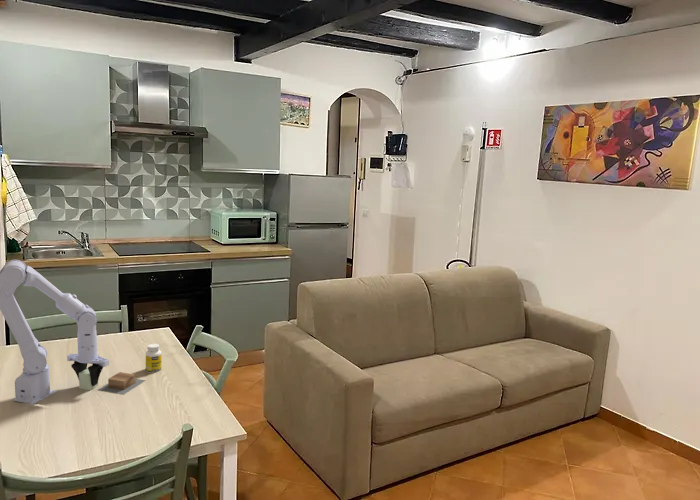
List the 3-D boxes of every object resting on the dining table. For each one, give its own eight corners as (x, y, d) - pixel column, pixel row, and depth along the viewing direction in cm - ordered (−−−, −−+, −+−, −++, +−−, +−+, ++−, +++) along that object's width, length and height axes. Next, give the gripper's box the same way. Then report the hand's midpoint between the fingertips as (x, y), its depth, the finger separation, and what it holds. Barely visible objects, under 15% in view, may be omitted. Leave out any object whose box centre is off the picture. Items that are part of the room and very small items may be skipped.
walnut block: (124, 389, 181) (123, 381, 180) (108, 387, 182) (108, 378, 182) (135, 382, 187) (135, 374, 186) (120, 380, 188) (119, 372, 188)
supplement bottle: (151, 375, 195) (151, 349, 193) (142, 371, 198) (142, 345, 196) (164, 371, 199) (164, 345, 197) (155, 367, 202) (155, 341, 201)
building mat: (123, 396, 178) (123, 394, 178) (97, 391, 180) (97, 389, 180) (145, 382, 189) (145, 380, 189) (120, 377, 192) (120, 376, 192)
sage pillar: (89, 392, 180) (89, 374, 179) (79, 390, 181) (78, 373, 180) (98, 387, 184) (97, 370, 182) (88, 385, 184) (87, 368, 183)
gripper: (114, 343, 181) (115, 382, 184) (77, 338, 185) (78, 375, 187) (99, 350, 175) (101, 390, 177) (61, 344, 178) (63, 384, 181)
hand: (88, 383), depth 182 cm, fingers closed on sage pillar, 4 cm apart
